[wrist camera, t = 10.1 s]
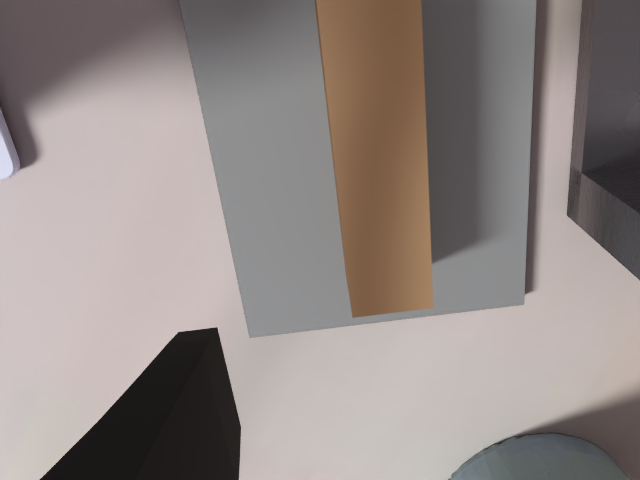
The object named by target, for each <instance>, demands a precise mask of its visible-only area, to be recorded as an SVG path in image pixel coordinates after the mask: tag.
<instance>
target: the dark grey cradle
mask: <svg viewBox="0 0 640 480" xmlns="http://www.w3.org/2000/svg"><path fill="white" fill-rule="evenodd" d="M567 216H568V217H570V218H571V219H572V220H573V221H574V222H575V223H576V224H577V225H578V226H580V227H581V228H582V229H583V230H584V231H585V232H586V233H587V234H589V235H590V236H591V237H592V238H593V239H594V240H595V241H596V242H598V243H599V244H600V245H601V246H602V247H603V248H604V249H605V250H606V251H608V252H609V253H610V254H611V255H612V256H613V257H614V258H615V259H617V260H618V261H619V262H620V263H621V264H622V265H623V266H624V267H626V268H627V269H628V270H629V271H630V272H631V273H632V274H633V275H634V276H636V277H637V278H638V279H639V280H640V0H583V2H582V15H581V29H580V43H579V56H578V70H577V84H576V98H575V111H574V125H573V139H572V152H571V166H570V180H569V193H568V207H567Z"/></svg>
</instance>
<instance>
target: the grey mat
mask: <svg viewBox="0 0 640 480" xmlns="http://www.w3.org/2000/svg"><path fill="white" fill-rule="evenodd" d="M536 1H537V0H421V6H422V31H423V57H424V82H425V107H426V132H427V157H428V182H429V208H430V233H431V258H432V283H433V308H429V309H421V310H413V311H405V312H396V313H388V314H380V315H372V316H364V317H355V318H352V311H351V305H350V299H349V293H348V286H347V280H346V272H345V263H344V255H343V246H342V237H341V228H340V220H339V211H338V202H337V194H336V185H335V176H334V168H333V159H332V150H331V141H330V133H329V124H328V115H327V107H326V98H325V89H324V80H323V72H322V63H321V54H320V46H319V37H318V28H317V19H316V11H315V2H314V0H179V5H180V10H181V14H182V19H183V24H184V29H185V33H186V38H187V43H188V48H189V52H190V57H191V62H192V67H193V71H194V76H195V81H196V86H197V90H198V95H199V100H200V105H201V109H202V114H203V119H204V124H205V128H206V133H207V138H208V143H209V147H210V152H211V157H212V162H213V166H214V171H215V176H216V181H217V185H218V190H219V195H220V200H221V204H222V209H223V214H224V219H225V223H226V228H227V233H228V238H229V242H230V247H231V252H232V257H233V261H234V266H235V271H236V276H237V280H238V285H239V290H240V295H241V299H242V304H243V309H244V314H245V318H246V323H247V328H248V333H249V337H250V338H254V337H262V336H270V335H278V334H287V333H295V332H303V331H311V330H319V329H328V328H336V327H344V326H352V325H361V324H369V323H377V322H385V321H393V320H402V319H410V318H418V317H426V316H435V315H443V314H451V313H459V312H467V311H476V310H484V309H492V308H500V307H508V306H517V305H524V296H525V271H526V247H527V222H528V198H529V173H530V148H531V124H532V99H533V75H534V50H535V25H536Z"/></svg>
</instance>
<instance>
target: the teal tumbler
mask: <svg viewBox="0 0 640 480" xmlns="http://www.w3.org/2000/svg"><path fill="white" fill-rule="evenodd" d="M449 480H630V479H629V478H628V476H627V475H626V474H625V473H624V471H623V470H622V469H621V468H620V467H619V465H618V464H617V463H616V462H615V461H614V460H613V459H612V458H611V457H610V456H609V455H608V454H607V453H606V452H604V451H603V450H602V449H600V448H599V447H598V446H596V445H594V444H592V443H590V442H588V441H586V440H583V439H580V438H576V437H573V436H568V435H562V434H556V433H546V434H533V435H525V436H522V437H519V438H517V437H512V438H509V439H507V440H505V441H503V442H502V443H501V444H493V445H492V446H491V447H489V448H487V449H484V450H482V451H481V452H480V453H478V454H476V455H475V456H473V457H472V458H471V459H470V460H468V461H466V462H465V463H464V464H463V465H462V466H460V468H459V469H458V470H457V471H456V472H455V473H453V474H452V475H451V479H449Z"/></svg>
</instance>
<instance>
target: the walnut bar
mask: <svg viewBox="0 0 640 480" xmlns="http://www.w3.org/2000/svg"><path fill="white" fill-rule="evenodd" d="M314 2H315V11H316V19H317V28H318V37H319V46H320V54H321V63H322V72H323V80H324V89H325V98H326V107H327V115H328V124H329V133H330V141H331V150H332V159H333V168H334V176H335V185H336V194H337V202H338V211H339V220H340V228H341V237H342V246H343V255H344V263H345V272H346V280H347V286H348V293H349V299H350V305H351V311H352V318H355V317H364V316H372V315H380V314H388V313H396V312H405V311H413V310H421V309H429V308H433V283H432V258H431V233H430V208H429V182H428V157H427V132H426V107H425V82H424V57H423V31H422V6H421V0H314Z"/></svg>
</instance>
